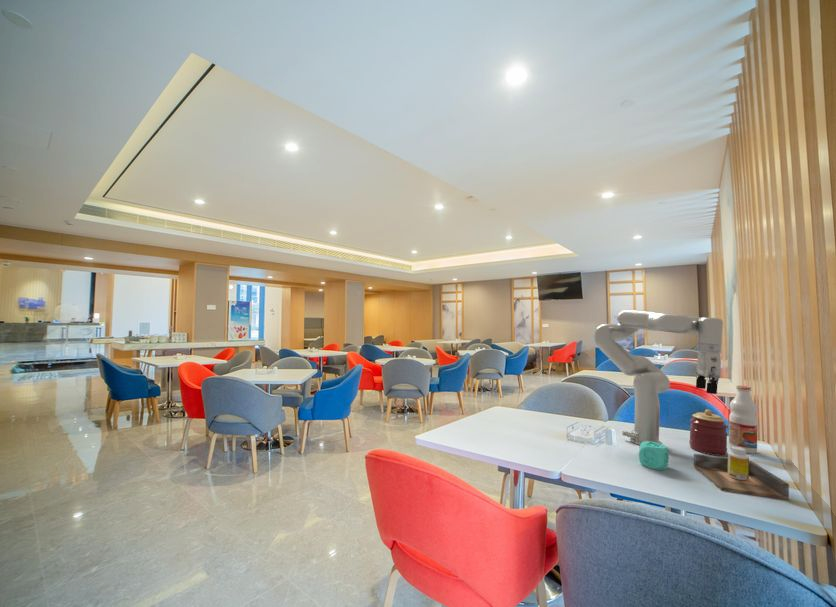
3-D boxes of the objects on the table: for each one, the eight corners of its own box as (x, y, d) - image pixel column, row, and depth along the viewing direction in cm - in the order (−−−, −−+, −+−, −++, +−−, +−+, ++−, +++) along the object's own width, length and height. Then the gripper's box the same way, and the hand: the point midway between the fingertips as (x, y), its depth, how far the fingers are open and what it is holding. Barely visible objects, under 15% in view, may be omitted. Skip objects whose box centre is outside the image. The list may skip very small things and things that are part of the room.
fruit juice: (735, 445, 168) (736, 384, 169) (761, 452, 160) (762, 388, 161) (724, 447, 165) (725, 384, 166) (749, 455, 156) (750, 389, 157)
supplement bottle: (752, 482, 125) (752, 452, 126) (732, 479, 127) (732, 449, 127) (743, 475, 131) (743, 446, 131) (724, 473, 132) (724, 444, 133)
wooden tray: (721, 490, 121) (721, 474, 121) (693, 466, 140) (693, 453, 140) (788, 500, 116) (788, 484, 116) (750, 474, 135) (750, 460, 135)
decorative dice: (668, 466, 139) (669, 445, 139) (663, 472, 134) (663, 450, 134) (644, 460, 145) (644, 439, 145) (638, 465, 139) (639, 443, 140)
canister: (733, 458, 152) (734, 415, 152) (695, 452, 156) (696, 411, 156) (719, 447, 164) (719, 408, 165) (684, 443, 168) (685, 404, 169)
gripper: (731, 351, 138) (728, 397, 138) (710, 347, 154) (707, 387, 154) (707, 349, 140) (704, 394, 140) (689, 345, 156) (686, 385, 157)
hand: (705, 390), depth 147 cm, fingers open, 9 cm apart
